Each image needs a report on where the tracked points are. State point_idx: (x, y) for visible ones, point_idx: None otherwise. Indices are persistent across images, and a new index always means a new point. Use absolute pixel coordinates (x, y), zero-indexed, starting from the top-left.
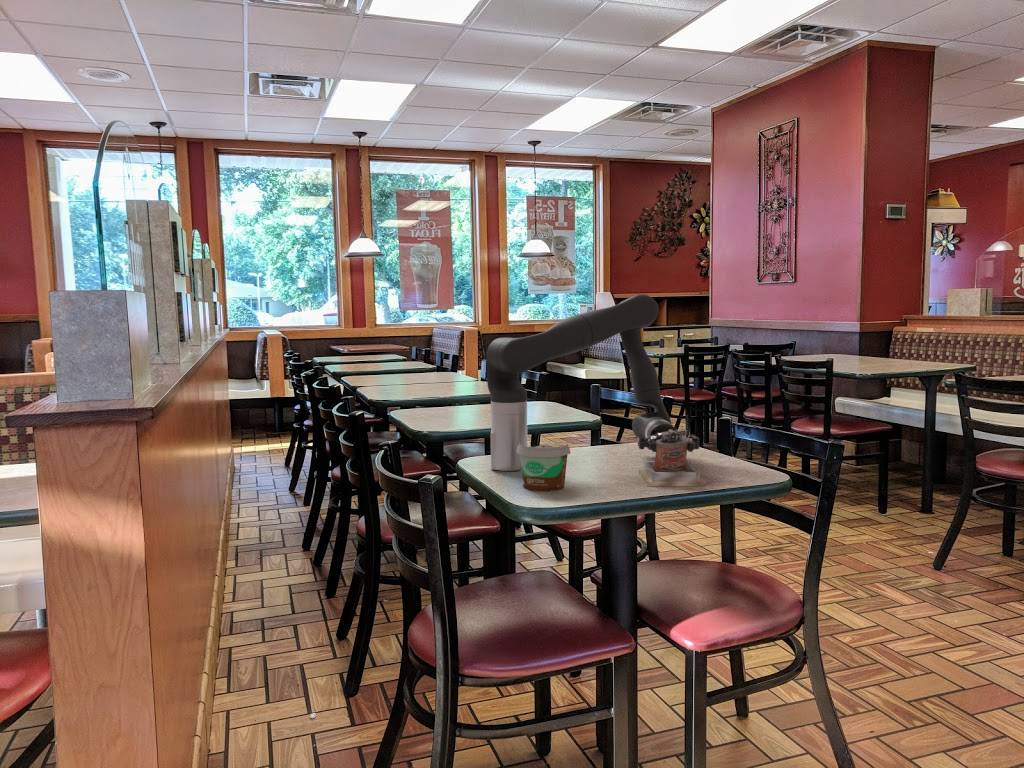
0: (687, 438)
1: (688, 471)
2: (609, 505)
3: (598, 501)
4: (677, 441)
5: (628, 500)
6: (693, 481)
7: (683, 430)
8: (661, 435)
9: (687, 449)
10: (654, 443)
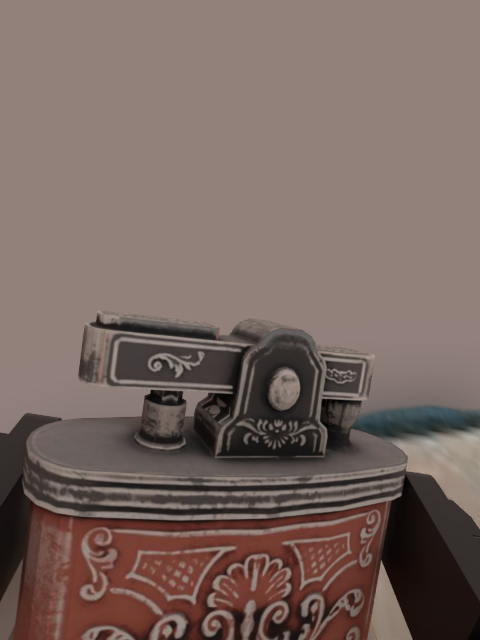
0: (31, 443)
1: None
2: (418, 411)
3: (463, 440)
4: (188, 429)
5: (381, 433)
6: None
7: (132, 315)
8: (369, 385)
9: (7, 582)
10: (412, 473)
